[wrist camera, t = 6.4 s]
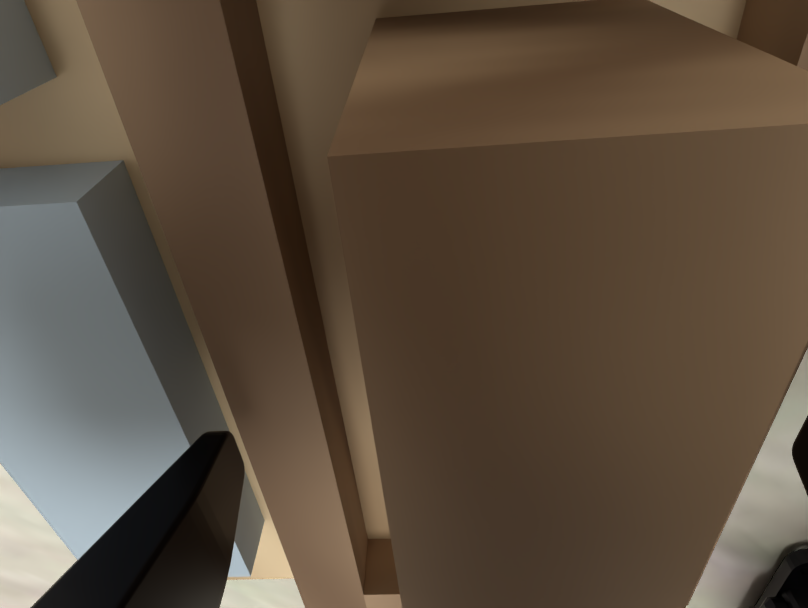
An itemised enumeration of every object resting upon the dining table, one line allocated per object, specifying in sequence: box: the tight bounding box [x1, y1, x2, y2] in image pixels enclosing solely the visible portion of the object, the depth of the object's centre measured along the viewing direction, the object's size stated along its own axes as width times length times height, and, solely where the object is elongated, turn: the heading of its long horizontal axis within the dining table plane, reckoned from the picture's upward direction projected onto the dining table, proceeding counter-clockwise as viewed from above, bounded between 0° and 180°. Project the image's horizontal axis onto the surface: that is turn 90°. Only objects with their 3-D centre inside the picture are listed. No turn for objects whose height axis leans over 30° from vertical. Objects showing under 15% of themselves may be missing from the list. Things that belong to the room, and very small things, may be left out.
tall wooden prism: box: [327, 0, 808, 608], centre depth 8 cm, size 4×12×6 cm, turn 5°
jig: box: [0, 0, 808, 608], centre depth 11 cm, size 16×18×3 cm
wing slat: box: [0, 160, 265, 577], centre depth 11 cm, size 4×10×2 cm, turn 5°
